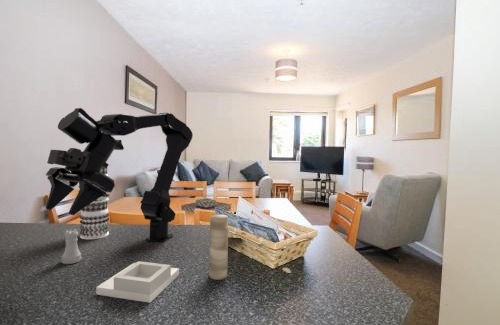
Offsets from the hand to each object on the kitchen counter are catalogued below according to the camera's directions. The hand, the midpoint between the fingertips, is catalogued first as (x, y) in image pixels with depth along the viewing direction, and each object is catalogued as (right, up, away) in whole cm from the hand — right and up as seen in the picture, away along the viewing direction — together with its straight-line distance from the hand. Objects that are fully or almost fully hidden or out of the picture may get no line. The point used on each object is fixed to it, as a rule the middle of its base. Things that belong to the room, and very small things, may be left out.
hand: (59, 211), depth 62 cm
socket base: (+20, -15, -2) cm, 25 cm away
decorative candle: (-9, -13, +29) cm, 33 cm away
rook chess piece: (-3, -15, +9) cm, 17 cm away
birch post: (+36, -15, +2) cm, 39 cm away
